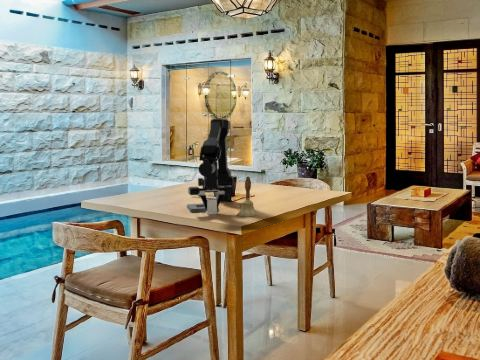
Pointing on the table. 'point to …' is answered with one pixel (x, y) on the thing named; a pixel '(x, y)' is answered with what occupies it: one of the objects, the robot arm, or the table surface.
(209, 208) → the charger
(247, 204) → the hand bell
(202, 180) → the robot arm
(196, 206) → the outlet plate
